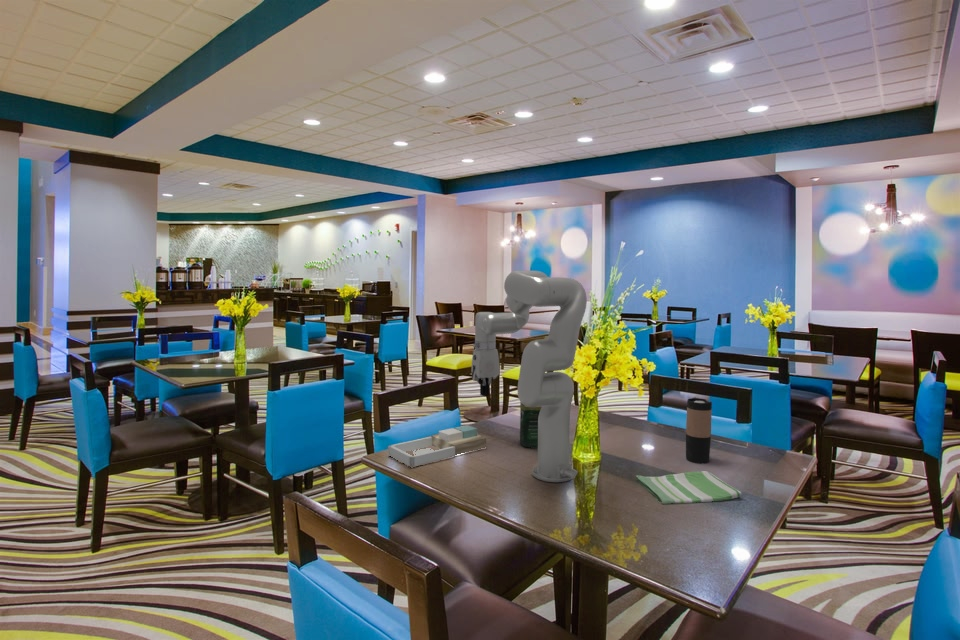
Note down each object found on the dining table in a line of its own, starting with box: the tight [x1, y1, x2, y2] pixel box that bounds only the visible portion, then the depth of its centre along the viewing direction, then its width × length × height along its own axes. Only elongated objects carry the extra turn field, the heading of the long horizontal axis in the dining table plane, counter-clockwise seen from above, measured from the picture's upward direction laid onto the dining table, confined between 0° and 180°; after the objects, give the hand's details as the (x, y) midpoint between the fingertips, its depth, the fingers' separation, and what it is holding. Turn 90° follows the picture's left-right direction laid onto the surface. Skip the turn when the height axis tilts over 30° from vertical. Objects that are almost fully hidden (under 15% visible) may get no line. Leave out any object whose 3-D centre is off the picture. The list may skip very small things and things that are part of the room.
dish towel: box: [635, 470, 742, 505], centre depth 148 cm, size 18×23×3 cm
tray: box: [387, 436, 455, 467], centre depth 175 cm, size 15×17×4 cm
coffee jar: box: [519, 402, 542, 449], centre depth 189 cm, size 10×8×19 cm
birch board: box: [430, 433, 488, 455], centre depth 185 cm, size 14×14×4 cm
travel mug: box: [685, 397, 713, 465], centre depth 173 cm, size 8×8×20 cm
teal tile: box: [453, 424, 478, 438], centre depth 186 cm, size 6×6×2 cm
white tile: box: [438, 427, 463, 442], centre depth 182 cm, size 6×6×2 cm
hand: (484, 395), depth 192 cm, fingers closed
